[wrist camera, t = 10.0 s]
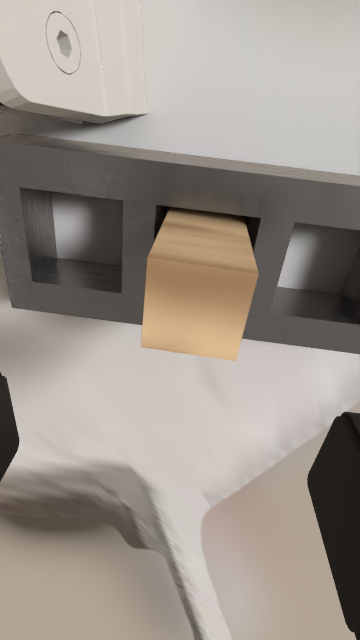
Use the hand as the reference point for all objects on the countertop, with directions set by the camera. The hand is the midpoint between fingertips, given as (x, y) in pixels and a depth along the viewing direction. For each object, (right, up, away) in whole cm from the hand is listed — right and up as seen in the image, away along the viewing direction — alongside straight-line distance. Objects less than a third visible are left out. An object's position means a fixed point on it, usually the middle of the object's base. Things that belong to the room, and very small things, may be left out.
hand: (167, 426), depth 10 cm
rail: (+2, +9, +13) cm, 16 cm away
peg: (+2, +9, +13) cm, 16 cm away
